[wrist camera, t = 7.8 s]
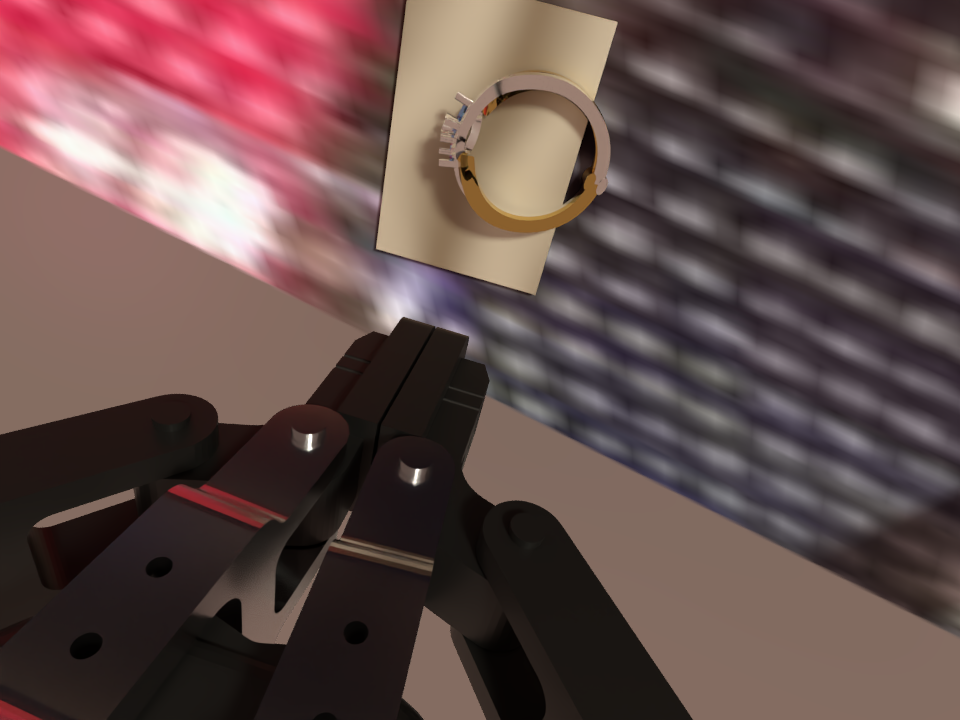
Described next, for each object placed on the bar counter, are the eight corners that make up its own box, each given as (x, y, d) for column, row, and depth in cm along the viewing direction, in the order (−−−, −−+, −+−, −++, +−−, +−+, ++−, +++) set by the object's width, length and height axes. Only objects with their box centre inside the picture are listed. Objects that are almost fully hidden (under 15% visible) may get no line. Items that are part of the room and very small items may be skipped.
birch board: (617, 21, 25) (617, 22, 24) (536, 291, 32) (535, 295, 31) (413, -32, 25) (410, -33, 25) (378, 246, 32) (376, 248, 32)
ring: (575, 262, 28) (416, 206, 27) (568, 234, 31) (423, 181, 29) (650, 122, 24) (469, 45, 23) (634, 102, 27) (471, 33, 25)
